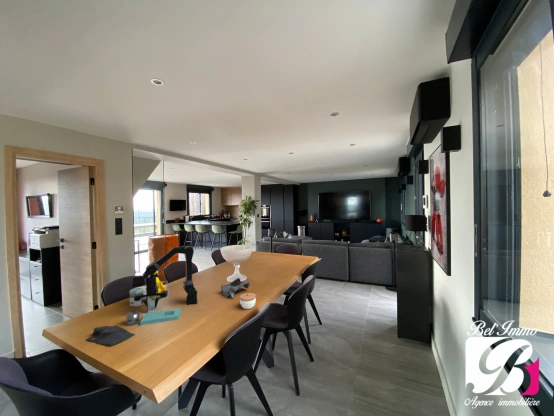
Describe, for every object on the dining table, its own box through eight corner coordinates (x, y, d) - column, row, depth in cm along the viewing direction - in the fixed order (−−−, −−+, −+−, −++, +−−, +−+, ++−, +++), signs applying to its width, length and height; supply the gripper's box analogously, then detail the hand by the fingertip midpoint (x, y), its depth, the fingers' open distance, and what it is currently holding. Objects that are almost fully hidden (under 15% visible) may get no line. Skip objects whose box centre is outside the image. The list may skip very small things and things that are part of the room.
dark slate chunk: (106, 353, 106) (106, 342, 106) (82, 341, 116) (82, 332, 116) (139, 335, 120) (138, 326, 120) (115, 326, 130) (115, 318, 129)
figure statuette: (170, 297, 168) (169, 268, 168) (161, 301, 161) (160, 271, 161) (155, 293, 177) (155, 265, 176) (146, 297, 170) (145, 268, 170)
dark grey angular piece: (218, 293, 174) (218, 281, 174) (240, 286, 187) (240, 275, 187) (230, 300, 160) (230, 287, 160) (253, 292, 174) (253, 280, 174)
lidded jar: (259, 307, 148) (259, 292, 148) (247, 313, 141) (246, 298, 140) (249, 302, 156) (248, 289, 156) (236, 308, 148) (236, 293, 148)
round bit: (141, 320, 135) (140, 310, 135) (137, 325, 129) (137, 315, 129) (128, 321, 134) (128, 311, 134) (124, 327, 127) (124, 316, 127)
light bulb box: (137, 306, 154) (137, 291, 154) (129, 306, 155) (128, 290, 155) (149, 300, 164) (149, 285, 164) (141, 299, 166) (141, 285, 166)
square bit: (156, 309, 148) (156, 297, 148) (154, 312, 144) (154, 300, 144) (149, 310, 147) (149, 298, 147) (147, 313, 143) (147, 301, 143)
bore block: (180, 311, 145) (180, 307, 145) (178, 320, 134) (178, 315, 134) (145, 316, 139) (145, 312, 139) (140, 325, 128) (140, 321, 128)
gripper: (169, 279, 156) (170, 301, 156) (138, 282, 151) (139, 305, 151) (166, 284, 145) (167, 308, 145) (133, 288, 140) (134, 313, 140)
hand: (152, 308), depth 146 cm, fingers closed on square bit, 4 cm apart
